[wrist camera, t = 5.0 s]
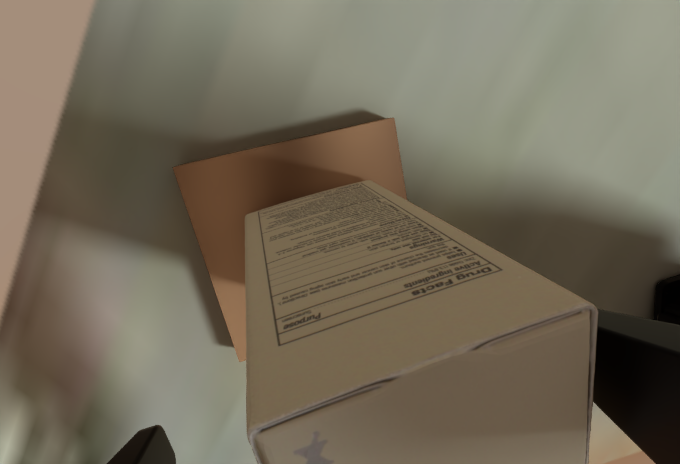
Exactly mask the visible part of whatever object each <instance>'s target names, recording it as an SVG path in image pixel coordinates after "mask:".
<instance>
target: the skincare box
mask: <svg viewBox="0 0 680 464" xmlns="http://www.w3.org/2000/svg"><path fill="white" fill-rule="evenodd" d="M245 295H246V369H247V389H246V413H247V437H248V440H249V443H250V445H251V447H252V450H253V453H254V455H255V457H256V460H257V463H258V464H588V463H589V441H590V431H591V418H592V407H593V386H594V374H595V359H596V338H597V322H598V310H597V308H596V307H595V306H594V304H592V303H590V302H588V301H587V300H585V299H583V298H581V297H579V296H578V295H576V294H574V293H572V292H571V291H569V290H567V289H565V288H563V287H562V286H560V285H558V284H556V283H554V282H552V281H551V280H549V279H547V278H545V277H543V276H542V275H540V274H538V273H536V272H535V271H533V270H531V269H529V268H527V267H525V266H523V265H522V264H520V263H518V262H516V261H515V260H513V259H511V258H509V257H507V256H506V255H504V254H502V253H500V252H499V251H497V250H495V249H493V248H491V247H490V246H488V245H486V244H484V243H482V242H481V241H479V240H477V239H475V238H474V237H472V236H470V235H468V234H466V233H465V232H463V231H461V230H459V229H457V228H456V227H454V226H452V225H450V224H448V223H447V222H445V221H443V220H441V219H439V218H438V217H436V216H434V215H432V214H431V213H429V212H427V211H425V210H423V209H422V208H420V207H418V206H416V205H414V204H412V203H411V202H409V201H407V200H405V199H404V198H402V197H400V196H398V195H396V194H394V193H393V192H391V191H389V190H387V189H385V188H384V187H382V186H380V185H378V184H376V183H375V182H373V181H371V180H366V181H362V182H357V183H353V184H349V185H345V186H341V187H337V188H334V189H330V190H326V191H322V192H319V193H315V194H312V195H308V196H305V197H301V198H298V199H294V200H291V201H288V202H284V203H281V204H278V205H274V206H271V207H268V208H265V209H262V210H259V211H256V212H252V213H249V214H247V215H246V216H245Z"/></svg>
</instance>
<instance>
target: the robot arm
mask: <svg viewBox="0 0 680 464" xmlns="http://www.w3.org/2000/svg"><path fill="white" fill-rule="evenodd" d="M597 310H598V322H597V338H596V359H595V374H594V386H593V402H594V403H595V404H596V405H597V406H598V407H599V408H600V409H601V410H602V411H603V412H604V413H605V414H606V415H607V416H608V417H609V418H610V419H611V420H612V421H613V422H614V423H615V424H616V425H617V426H618V427H619V428H620V429H621V430H622V431H623V432H624V433H625V434H626V435H627V436H628V437H629V438H630V439H631V440H632V441H633V442H634V443H635V444H636V445H637V446H638V447H639V448H640V449H641V450H642V451H643V452H645V454H647V456H648V457H649V458H650V459H652V460H653V461H654V462H655V463H656V464H680V275H678V276H675V277H672V278H669V279H666V280H663V281H661V282H660V283H659V284H658V285H657V287H656V298H655V319H654V320H650V319H645V318H640V317H635V316H630V315H625V314H620V313H614V312H609V311H604V310H599V309H597ZM107 464H176V458H175V453H174V451H173V449H172V446H171V444H170V442H169V440H168V438H167V435H166V433H165V431H164V429H163V428H162V427H161V426H160V425H155V426H152V427H148V428H145V429H142V430H140V431H138V432H137V433H136V434H135V435H134V436H133V437H132V438H131V439H130V440H129V441H128V442H127V444H126V445H125V446H124V447H123V448H122V449H121V450H120V451H119V452H118V453H117V454H116V455H115V456H114V457H113V458H112V459H111V460H110V461H109V462H108V463H107Z"/></svg>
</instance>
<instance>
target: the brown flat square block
mask: <svg viewBox="0 0 680 464" xmlns="http://www.w3.org/2000/svg"><path fill="white" fill-rule="evenodd" d="M173 170H174V173H175V176H176V179H177V182H178V185H179V188H180V191H181V193H182V196H183V199H184V202H185V205H186V208H187V211H188V214H189V217H190V220H191V223H192V225H193V228H194V231H195V234H196V237H197V240H198V243H199V246H200V249H201V252H202V255H203V257H204V260H205V263H206V266H207V269H208V272H209V275H210V278H211V281H212V284H213V287H214V289H215V292H216V295H217V298H218V301H219V304H220V307H221V310H222V313H223V316H224V319H225V321H226V324H227V327H228V330H229V333H230V336H231V339H232V342H233V345H234V348H235V351H236V353H237V356H238V359H239V362H241V361H245V360H246V295H245V216H246V215H247V214H249V213H252V212H256V211H259V210H262V209H265V208H268V207H271V206H274V205H278V204H281V203H284V202H288V201H291V200H294V199H298V198H301V197H305V196H308V195H312V194H315V193H319V192H322V191H326V190H330V189H334V188H337V187H341V186H345V185H349V184H353V183H357V182H362V181H366V180H371V181H373V182H375V183H376V184H378V185H380V186H382V187H384V188H385V189H387V190H389V191H391V192H393V193H394V194H396V195H398V196H400V197H402V198H404V199H405V200H407V196H406V190H405V183H404V177H403V171H402V164H401V158H400V152H399V145H398V139H397V132H396V126H395V120H394V118H386V119H381V120H377V121H372V122H368V123H363V124H359V125H355V126H350V127H346V128H341V129H337V130H332V131H328V132H323V133H319V134H314V135H310V136H306V137H301V138H297V139H292V140H288V141H283V142H279V143H274V144H270V145H266V146H261V147H257V148H252V149H248V150H243V151H239V152H234V153H230V154H226V155H221V156H217V157H212V158H208V159H203V160H199V161H194V162H190V163H185V164H181V165H178V166H175V167H173Z"/></svg>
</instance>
